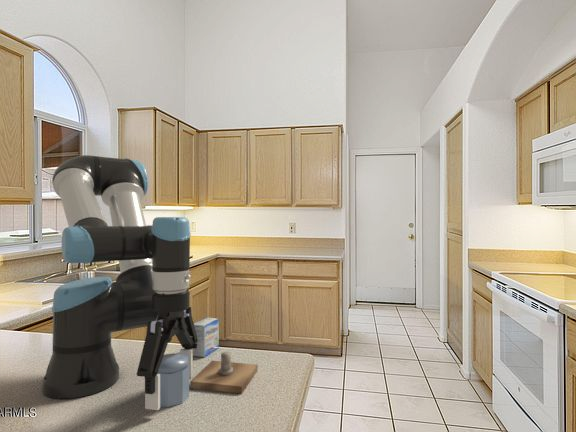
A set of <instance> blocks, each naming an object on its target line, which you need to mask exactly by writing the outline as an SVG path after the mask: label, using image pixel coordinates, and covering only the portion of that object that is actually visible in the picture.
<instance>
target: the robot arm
mask: <svg viewBox="0 0 576 432" xmlns="http://www.w3.org/2000/svg"><path fill="white" fill-rule="evenodd" d="M148 178H149V177H148V173H147V169H146V167H145V166H144V164H143V163H142V162H141V161H140V160H135V159H131V158H118V157H107V156H106V157H105V156H96V155H89V154H86V155H78V156H74V157H71V158H69V159H66V160H65V161H63V162H62V163H61V164H59V166H58V167H57V168H56V169H55V171H54V172H53V175H52V180H51V181H52V183H51V184H52V186H53V191H54V192H55V194H56V195H57V196H58V197H59V198H60V199H61V204H62V207H63V212H64V216H65V219H66V221H67V227H65V228H64V229H63V230H62V234H61V254H62V255H61V256H62V259H63V261H64V262H65V263H67V264H90V263H91V264H92V263H93V264H94V263H103V262H105V263H106V262H115V261H116V262H117V261H118V265H119V271H120V272H119V274H117V276H116V277H115V281H114V282H113V280H112V278H111V277H110V276H92V277H86V278H82V279H77V280H73V281H70V282H66V283H63V284H62V285H60V286H59V287H57V288H56V289H55V290H54V293H53V298H52V299H53V300H52V307H51V311H52V352H51V356H50V359H49V363H48V365H47V368H46V372H45V375H44V377H43V379H42V393H43V395H44V396H46V397H48V398H52V399H60V400H61V399H64V400H65V399H67V400H68V399H75V398H81V397H87V396H90V395H93V394H97V393H99V392H102V391H104V390H106V389H108V388H110V387H112V386H113V385H114V384H116V383H117V381H118V380H119V378H120V366H119V363H118V362H117V359H116V356H115V353H114V350H113V347H112V333H117V332H121V331H127V330H133V329H134V330H135V329H140V328H145V327H146V336H145V339H144V344H143V346H142V351H141V354H140V359H139V363H138V366H137V370H136V376H137V377H144V397H145V398H144V409H145V410H153V411H159V410H160V409H161V406H160V374H157V373H158V370H159V367H160V365H161V362H162V359H163V356H164V355H165V352H166V350H167V348H168V344H169V343H170V342H172V339H173V337H174V336H176V337H175V338H177V341H178V342H179V344H180V346H181V347H182V348H181V349H179V354H184V355H186V356H187V357H188V365H189V381H191V380H192V379H193V378H194V375H193V374H194V373H193V372H194V371H193V370H194V369H193V365H194V364H193V362H194V361H193V360H194V359H193V357H194V356H193V350H192V348H193V349H196V348H197V344H196V343H197V341H198V338H197V334H196V330H195V327H194V320H193V316H192V306H191V298H190V297H191V296H190V294H191V292H190V291H189V288H190V280H191V279H192V276H191V274H190V267H191V266H190V265H191V264H190V262H191V261H190V257H191V256H190V254H191V249H190V248H191V234H192V233H191V231H190V221H189V219H188V217H184V216H158V217H157V216H156V217H154V218H153V220H152V225H149V224H148V225H147V223H146V220H145V215H144V210H143V207H142V201H143V199H144V197H145V195H147V192H148V188H149V181H148ZM97 196H98V197H99V196H101V200H102V203H103V204H104V205H106V206H107V207H109V213H110V214H109V215H110V218H111V224H112V226H111V225H108V222H107V220H106V218H105V215H104V214H103V211H102V208H101V206H100V203H99V202H98V199H97ZM191 336H192V337H191Z"/></svg>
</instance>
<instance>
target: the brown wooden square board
mask: <svg viewBox="0 0 576 432" xmlns="http://www.w3.org/2000/svg"><path fill="white" fill-rule="evenodd" d="M231 355H232V354H231V352H229V351H225V352H224V351H223V352H221V353H220V361H219V360H211V361H210V362H209V363H207V365H206V366H205V367H203V368H202V370H200V371H199V372H198V373H197V374H196V375H195V376H193V378H192V379H191V380H189V389H198V390H205V391H216V392H225V393H232V394H233V393H235V394H243V393H244V391H245V390H246V388H247V387H248V385H249V384H250V382H251V381H252V380H253V378H254V377H255V375H256V373H258V370H259V368H258V367H259V366H258V365H259V364H254V363H246V362H245V363H243V362H235V361H234V362H232V361H231V357H232V356H231Z"/></svg>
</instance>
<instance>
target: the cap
mask: <svg viewBox="0 0 576 432" xmlns="http://www.w3.org/2000/svg"><path fill="white" fill-rule="evenodd" d="M157 374H160V407H164V408H170V407H174V406H178V405H181V404H184V402H185V401H186V400H187V399H188V398H189V397H190V379H189V365H188V357H187V356H186V355H184V354H180V353H166V354H164V356H163V359H162V362H161V365H160V367H159V370H158V373H157Z"/></svg>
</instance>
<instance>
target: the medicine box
mask: <svg viewBox="0 0 576 432" xmlns="http://www.w3.org/2000/svg"><path fill="white" fill-rule="evenodd" d="M193 323H194V322H193ZM194 327H195V330H196V334H197V338H198V341H197V343H196V344H197V348H196V349H193V348H192V350H193V357H197V358H198V357H199V358H206V357H208V356H209V355H211V354H212V353H213V352H215V351H217V349H219V345H220V344H219V343H220V342H219V341H220V340H219V339H220V336H219V331H220V329H219V327H220V320H219V318H216V317H214V318H213V317H205V318H203V319H201V320H198V321H197V322H195V323H194ZM190 337H192V336H190ZM214 347H218V348H214Z"/></svg>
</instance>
